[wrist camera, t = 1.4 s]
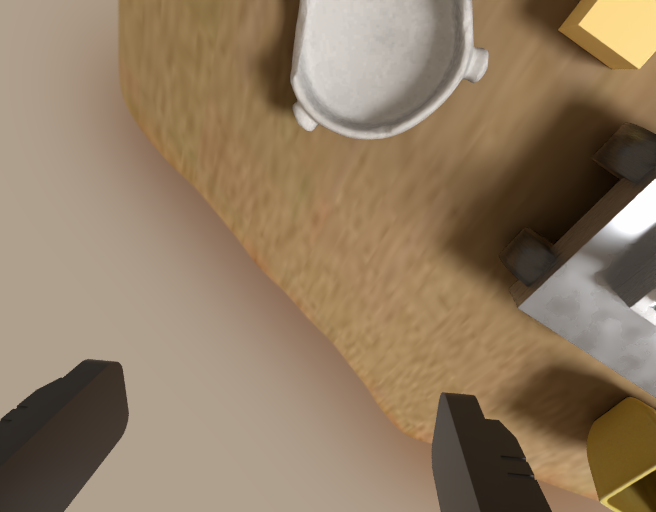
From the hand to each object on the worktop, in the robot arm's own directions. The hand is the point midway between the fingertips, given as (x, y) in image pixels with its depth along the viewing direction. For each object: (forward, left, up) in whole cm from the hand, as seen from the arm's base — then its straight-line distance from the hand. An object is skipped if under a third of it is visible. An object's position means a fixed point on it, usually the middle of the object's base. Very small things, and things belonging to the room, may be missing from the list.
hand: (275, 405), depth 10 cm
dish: (-8, -4, -29) cm, 30 cm away
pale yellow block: (-17, +9, -29) cm, 35 cm away
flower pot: (+8, +38, -29) cm, 48 cm away
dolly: (-6, +23, -29) cm, 37 cm away
